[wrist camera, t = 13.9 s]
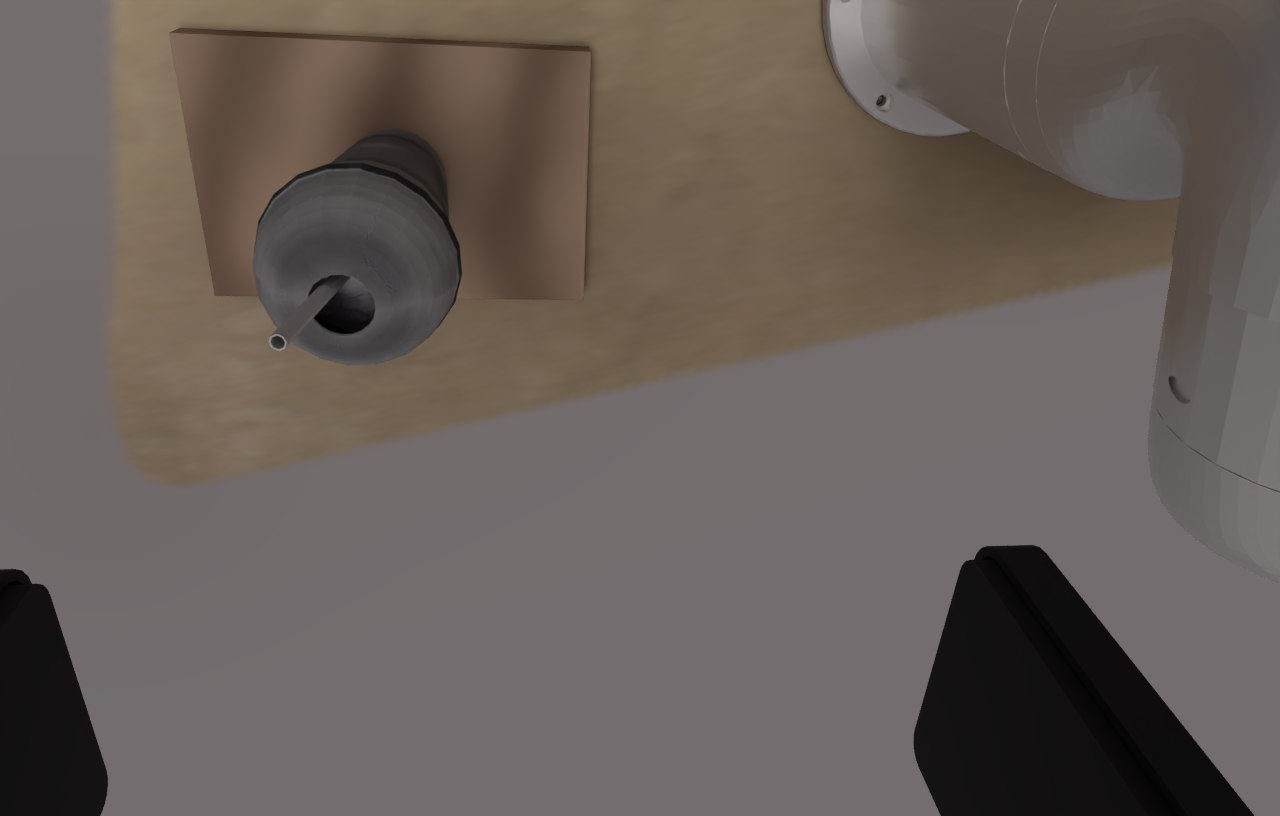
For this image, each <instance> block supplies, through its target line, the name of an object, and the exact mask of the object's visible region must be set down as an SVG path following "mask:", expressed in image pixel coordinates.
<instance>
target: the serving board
mask: <svg viewBox="0 0 1280 816" xmlns="http://www.w3.org/2000/svg"><path fill="white" fill-rule="evenodd" d="M169 37H170V42H171V48H172V54H173V60H174V65H175V71H176V77H177V82H178V88H179V94H180V99H181V105H182V111H183V117H184V122H185V128H186V134H187V139H188V145H189V151H190V156H191V162H192V168H193V174H194V179H195V185H196V191H197V196H198V202H199V208H200V213H201V219H202V225H203V231H204V236H205V242H206V248H207V253H208V259H209V265H210V270H211V276H212V282H213V287H214V293H215V296H259V295H258V290H257V286H256V281H255V276H254V271H253V258H254V247H255V241H256V234H257V227H258V221H259V219H260V217H261V215H262V214H263V212H264V210H265V208H266V207H267V205H268V203H269V201H270V199H271V198H272V196H273V194H274V193H276V192H277V191H278V190H279V189H280V188H282V187H283V186H284V185H285V184H287V183H288V182H289V181H290V180H291V179H293V178H294V177H295V176H296V175H298V174H300V173H303V172H306V171H309V170H312V169H314V168H317V167H320V166H323V165H326V164H330V163H331V162H332V161H334V160H335V159H336V158H337V157H339V156H340V155H341V154H342V153H344V152H345V151H346V150H348V149H349V148H350V147H351V146H353V145H354V144H355V143H356V142H358V141H359V140H360V139H361V138H364V137H367V136H368V135H369V134H372V133H375V132H378V131H380V130H383V129H400V130H404V131H407V132H410V133H414V134H416V135H417V136H419V137H420V138H422V139H423V140H425V141H426V142H428V143H429V144H430V145H431V147H432V148H433V149H434V150H435V151H436V152H437V154H438V155H439V157H440V159H441V162H442V164H443V166H444V169H445V175H446V177H447V187H448V201H449V220H450V224H451V226H452V229H453V231H454V233H455V236H456V238H457V240H458V242H459V245H460V255H461V266H462V278H461V282H460V285H459V289H458V293H457V297H456V298H458V299H548V300H584V267H585V234H586V202H587V169H588V136H589V103H590V70H591V50H590V48H589V47H580V46H558V45H536V44H514V43H492V42H470V41H448V40H426V39H404V38H382V37H360V36H338V35H317V34H295V33H273V32H251V31H229V30H207V29H185V28H180V29H177V30H175V31H172V32H170V33H169Z"/></svg>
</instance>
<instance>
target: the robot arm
mask: <svg viewBox="0 0 1280 816" xmlns="http://www.w3.org/2000/svg"><path fill="white" fill-rule="evenodd" d="M822 25H823V31H824V37H825V43H826V49H827V52H828V55H829V58H830V60H831V63H832V66H833V68H834V71H835V74H836V75H837V77H838V78H839V80H840V82H841V83H842V85H843V86H844V88H845V90H846V91H847V93H848V94H849V95H850V96H851V97H852V98H853V99H854V100H855V101H856V102H857V103H858V104H859V105H860V106H861V108H862V109H863V110H865V111H866V112H867V113H869V114H870V115H872V116H873V117H875V118H876V119H877V120H879V121H881V122H883V123H885V124H887V125H889V126H891V127H893V128H895V129H897V130H899V131H903V132H907V133H911V134H915V135H919V136H941V137H944V136H950V135H956V134H962V133H968V132H971V131H973V132H975V133H976V134H978V135H980V136H982V137H984V138H986V139H988V140H990V141H991V142H993V143H995V144H997V145H999V146H1001V147H1003V148H1005V149H1006V150H1008V151H1010V152H1012V153H1014V154H1016V155H1018V156H1020V157H1021V158H1023V159H1025V160H1027V161H1029V162H1031V163H1033V164H1034V165H1036V166H1038V167H1040V168H1042V169H1044V170H1046V171H1048V172H1050V173H1052V174H1054V175H1057V176H1059V177H1060V178H1062V179H1064V180H1066V181H1068V182H1070V183H1072V184H1074V185H1076V186H1078V187H1080V188H1082V189H1085V190H1087V191H1090V192H1093V193H1095V194H1099V195H1102V196H1105V197H1110V198H1116V199H1122V200H1131V201H1152V200H1163V199H1171V198H1178V197H1180V201H1179V209H1178V216H1177V224H1176V230H1175V236H1174V242H1173V248H1172V255H1173V264H1172V271H1171V277H1170V283H1169V290H1168V296H1167V302H1166V308H1165V315H1164V322H1163V328H1162V334H1161V340H1160V346H1159V352H1158V359H1157V365H1156V371H1155V378H1154V384H1153V396H1152V403H1151V410H1150V417H1149V430H1148V462H1149V467H1150V473H1151V477H1152V481H1153V484H1154V486H1155V489H1156V491H1157V494H1158V496H1159V498H1160V500H1161V502H1162V504H1163V505H1164V506H1165V508H1166V509H1167V511H1168V512H1169V513H1170V515H1171V516H1172V517H1173V519H1174V520H1175V521H1176V522H1177V523H1178V524H1179V525H1180V526H1181V527H1182V528H1183V529H1184V530H1185V531H1186V532H1187V533H1189V534H1190V535H1191V536H1192V537H1193V538H1194V539H1195V540H1197V541H1198V542H1199V543H1201V544H1202V545H1204V546H1205V547H1206V548H1208V549H1209V550H1211V551H1213V552H1214V553H1216V554H1217V555H1219V556H1220V557H1222V558H1224V559H1226V560H1228V561H1229V562H1231V563H1233V564H1235V565H1237V566H1239V567H1241V568H1243V569H1245V570H1247V571H1250V572H1252V573H1254V574H1256V575H1259V576H1261V577H1263V578H1266V579H1268V580H1271V581H1273V582H1276V583H1278V584H1280V0H823V16H822ZM881 95H883V101H882V103H880V104H878V105H877V104H876V102H877V99H878V97H880V96H881ZM914 751H915V756H916V761H917V763H918V766H919V769H920V771H921V773H922V775H923V777H924V780H925V782H926V784H927V786H928V789H929V790H930V793H931V795H932V797H933V800H934V802H935V804H936V806H937V808H938V810H939V813H940V815H941V816H1254V815H1253V813H1252V812H1251V811H1250V809H1249V808H1248V807H1247V806H1246V804H1245V803H1244V802H1243V801H1242V799H1241V798H1240V797H1239V796H1238V794H1237V793H1236V792H1235V791H1234V789H1233V788H1232V787H1231V786H1230V784H1229V783H1228V782H1227V781H1226V779H1225V778H1224V777H1223V775H1222V774H1221V773H1220V772H1219V770H1218V769H1217V768H1216V767H1215V765H1214V764H1213V763H1212V762H1211V760H1210V759H1209V758H1208V757H1207V755H1206V754H1205V753H1204V751H1203V750H1202V749H1201V748H1200V747H1199V745H1198V744H1197V743H1196V742H1195V740H1194V739H1193V738H1192V736H1191V735H1190V734H1189V733H1188V731H1187V730H1186V729H1185V728H1184V726H1183V725H1182V724H1181V723H1180V721H1179V720H1178V719H1177V717H1176V716H1175V715H1174V714H1173V712H1172V711H1171V710H1170V709H1169V707H1168V706H1167V705H1166V704H1165V702H1164V701H1163V700H1162V699H1161V697H1160V696H1159V695H1158V694H1157V692H1156V691H1155V690H1154V688H1153V687H1152V686H1151V685H1150V683H1149V682H1148V681H1147V680H1146V678H1145V677H1144V676H1143V675H1142V673H1141V672H1140V671H1139V670H1138V668H1137V667H1136V666H1135V664H1134V663H1133V662H1132V661H1131V660H1130V658H1129V657H1128V656H1127V654H1126V653H1125V652H1124V651H1123V649H1122V648H1121V647H1120V646H1119V644H1118V643H1117V642H1116V641H1115V639H1114V638H1113V637H1112V636H1111V635H1110V633H1109V632H1108V630H1107V629H1106V628H1105V627H1104V626H1103V624H1102V623H1101V622H1100V620H1099V619H1098V618H1097V617H1096V615H1095V614H1094V613H1093V612H1092V610H1091V609H1090V608H1089V607H1088V605H1087V604H1086V603H1085V601H1084V600H1083V599H1082V598H1081V596H1080V595H1079V594H1078V593H1077V592H1076V590H1075V589H1074V588H1073V586H1072V585H1071V584H1070V583H1069V581H1068V580H1067V579H1066V577H1065V576H1064V575H1063V574H1062V572H1061V571H1060V570H1059V569H1058V568H1057V566H1056V565H1055V564H1054V563H1053V561H1052V560H1051V559H1050V558H1049V556H1048V555H1047V554H1046V553H1045V552H1044V551H1043V550H1042V549H1041V548H1040V547H1037V546H1034V545H1019V546H987V547H983V548H981V549H980V550H979V551H978V553H977V554H976V557H975V559H974V560H969V561H966V562H965V563H964V564H963V565H962V567H961V570H960V573H959V576H958V580H957V583H956V587H955V590H954V594H953V597H952V601H951V605H950V608H949V612H948V615H947V618H946V622H945V625H944V629H943V632H942V636H941V639H940V643H939V647H938V650H937V654H936V657H935V661H934V664H933V668H932V672H931V675H930V678H929V682H928V685H927V689H926V692H925V696H924V699H923V704H922V706H921V710H920V713H919V717H918V720H917V724H916V728H915V732H914ZM107 787H108V776H107V771H106V768H105V765H104V761H103V758H102V755H101V752H100V749H99V746H98V742H97V740H96V737H95V733H94V730H93V727H92V724H91V721H90V717H89V715H88V711H87V708H86V705H85V702H84V699H83V696H82V693H81V690H80V686H79V683H78V681H77V677H76V674H75V671H74V668H73V665H72V661H71V658H70V655H69V652H68V649H67V646H66V643H65V640H64V637H63V634H62V630H61V627H60V624H59V621H58V618H57V615H56V612H55V609H54V605H53V602H52V599H51V596H50V594H49V592H48V590H47V589H46V587H45V586H44V585H41V584H32V583H31V581H30V579H29V577H28V576H27V575H26V574H25V573H24V572H23V571H21V570H16V569H3V570H0V816H100V815H101V813H102V810H103V807H104V804H105V800H106V796H107Z"/></svg>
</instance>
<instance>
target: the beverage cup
mask: <svg viewBox="0 0 1280 816" xmlns="http://www.w3.org/2000/svg"><path fill="white" fill-rule="evenodd" d="M253 271H254V276H255V281H256V286H257V290H258V295H259V298H260V300H261V302H262V304H263V306H264V307H265V309H266V311H267V313H268V314H269V316H270V318H271V320H272V321H273V323H274V325H275V326H276V327H277V328H278V329H277V330H276V331H275V332H274V333H273V334H272V335H271V336H270V339H269V344H270V346H271V347H272V349H275V350H278V351H280V350H283V349H285V348H286V347H287V346H288V345H289V344H290V343H291V342H293V343H294V344H295V345H296V346H298V347H300V348H302V349H304V350H306V351H308V352H309V353H311V354H313V355H315V356H317V357H319V358H321V359H324V360H328V361H333V362H337V363H341V364H346V365H370V364H379V363H382V362H385V361H388V360H391V359H394V358H397V357H400V356H403V355H405V354H407V353H409V352H410V351H411V350H413V349H414V348H415V347H417V346H418V345H419V344H421V343H422V342H423V341H425V340H426V339H427V338H429V337H430V336H431V335H432V333H433V332H434V331H435V329H436V328H437V327H438V326H439V325H440V324H441V322H442V321H443V319H444V318H445V317H446V315H447V314H448V312H449V311H450V309H451V308H452V306H453V305H454V303H455V301H456V297H457V293H458V289H459V285H460V282H461V278H462V266H461V255H460V245H459V242H458V240H457V238H456V236H455V233H454V231H453V229H452V226H451V224H450V220H449V201H448V187H447V177H446V175H445V169H444V166H443V164H442V162H441V159H440V157H439V155H438V154H437V152H436V151H435V150H434V149H433V148H432V147H431V145H430V144H429V143H428V142H426V141H425V140H423V139H422V138H420V137H419V136H417V135H416V134H414V133H410V132H407V131H404V130H400V129H383V130H380V131H378V132H375V133H372V134H369V135H368V136H367V137H364V138H361V139H360V140H359V141H358V142H356V143H355V144H354V145H353V146H351V147H350V148H349V149H348V150H346V151H345V152H344V153H342V154H341V155H340V156H339V157H337V158H336V159H335V160H334V161H332V162H331V163H330V164H326V165H323V166H320V167H317V168H314V169H312V170H309V171H306V172H303V173H300V174H298V175H296V176H295V177H294V178H293V179H291V180H290V181H289V182H288V183H287V184H285V185H284V186H283V187H282V188H280V189H279V190H278V191H277V192H276V193H274V194H273V196H272V198H271V199H270V201H269V203H268V205H267V207H266V208H265V210H264V212H263V214H262V215H261V217H260V219H259V221H258V227H257V234H256V241H255V247H254V258H253Z"/></svg>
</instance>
